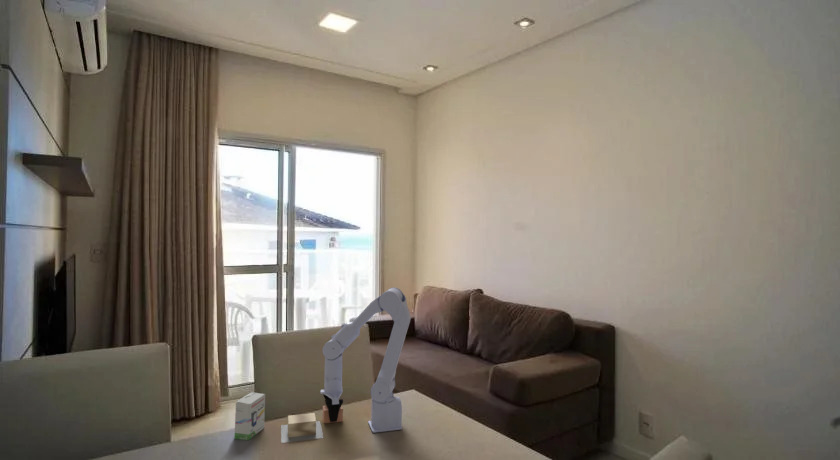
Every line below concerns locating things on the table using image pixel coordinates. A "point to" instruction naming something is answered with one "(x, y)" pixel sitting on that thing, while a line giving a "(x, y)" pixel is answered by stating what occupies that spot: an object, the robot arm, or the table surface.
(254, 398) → the ink box
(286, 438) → the base plate
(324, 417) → the terracotta brick
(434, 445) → the table surface
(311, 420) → the maple brick
